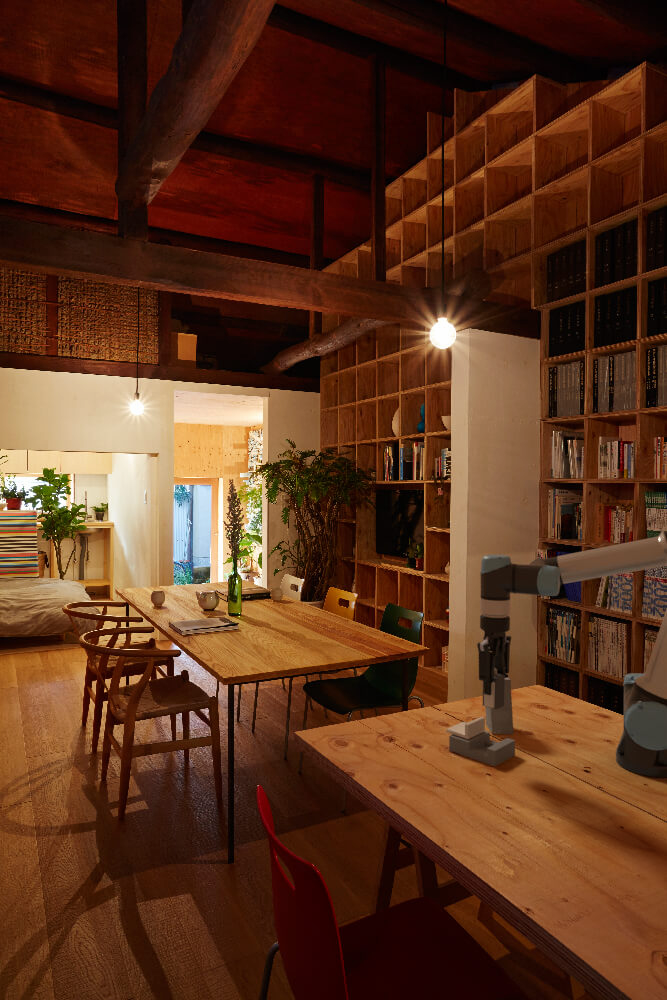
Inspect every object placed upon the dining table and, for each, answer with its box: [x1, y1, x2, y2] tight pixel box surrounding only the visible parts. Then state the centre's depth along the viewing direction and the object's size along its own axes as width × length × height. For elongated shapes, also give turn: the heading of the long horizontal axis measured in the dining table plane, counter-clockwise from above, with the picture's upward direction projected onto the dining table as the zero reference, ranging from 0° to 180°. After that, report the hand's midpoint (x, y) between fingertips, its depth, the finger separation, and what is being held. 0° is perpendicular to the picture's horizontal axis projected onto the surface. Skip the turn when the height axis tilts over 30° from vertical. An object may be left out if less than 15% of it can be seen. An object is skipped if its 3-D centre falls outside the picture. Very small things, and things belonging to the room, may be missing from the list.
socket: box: [448, 730, 516, 767], centre depth 173 cm, size 14×10×4 cm
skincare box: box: [484, 677, 514, 735], centre depth 190 cm, size 8×7×16 cm
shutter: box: [445, 716, 486, 739], centre depth 176 cm, size 7×8×4 cm
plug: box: [482, 668, 505, 709], centre depth 167 cm, size 4×4×10 cm
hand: (493, 704), depth 167 cm, fingers closed on plug, 4 cm apart
